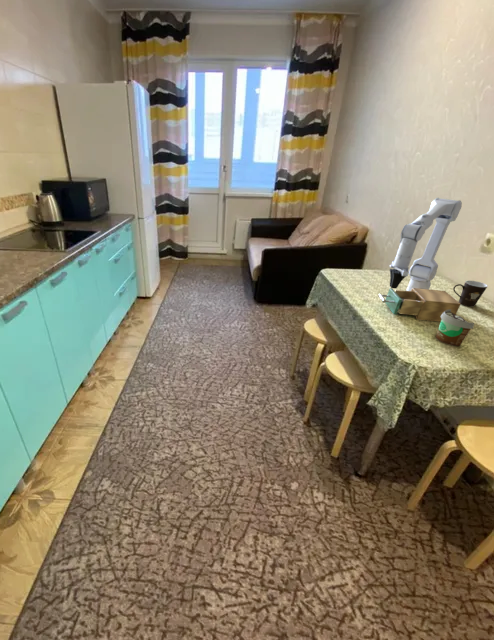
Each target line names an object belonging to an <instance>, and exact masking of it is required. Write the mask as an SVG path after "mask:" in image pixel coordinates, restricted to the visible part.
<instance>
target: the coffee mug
mask: <svg viewBox="0 0 494 640" xmlns="http://www.w3.org/2000/svg"><path fill="white" fill-rule="evenodd" d="M458 286H459V287H462V290H461V294H459V293H458V292H457V291H456V287H458ZM488 287H489V285H488V284H487V283H484V282H482V281H477V280H465V282H464V284H461V283H458V284H455V285H454V286H453V289H452V290H453V292H454V294H455V295H457V296H458V297H459V299H458V302H459V303H460V304H461V305H462V306H463V307H464V306H465V307H469V308H470V307H471V308H472V307H475V306H476V304H477V303H478V301H479V300H480V299H481V297H482V296H483V294H484V293H485V291H486V290H487V289H488Z"/></svg>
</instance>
